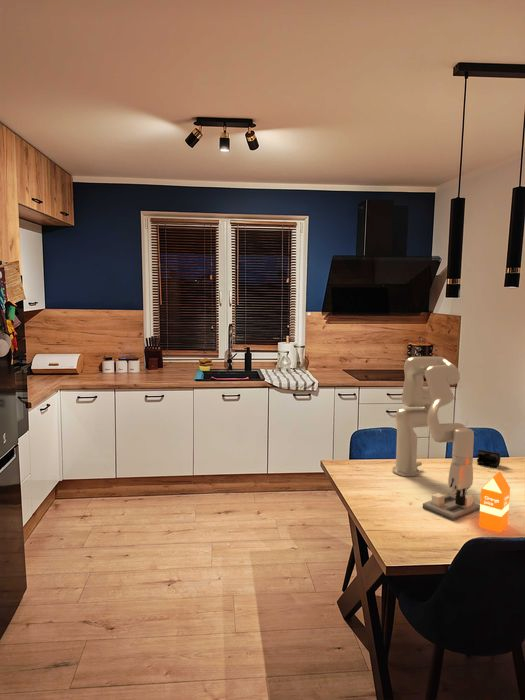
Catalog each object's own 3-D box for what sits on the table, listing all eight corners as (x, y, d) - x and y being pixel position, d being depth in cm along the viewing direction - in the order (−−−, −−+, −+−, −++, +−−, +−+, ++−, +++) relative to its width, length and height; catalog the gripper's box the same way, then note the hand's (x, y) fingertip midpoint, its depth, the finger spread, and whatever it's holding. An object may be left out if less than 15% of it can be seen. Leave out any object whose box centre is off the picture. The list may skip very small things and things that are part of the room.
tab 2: (465, 504, 206) (466, 493, 206) (472, 506, 204) (472, 496, 204) (459, 506, 204) (460, 496, 204) (466, 508, 202) (466, 498, 201)
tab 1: (437, 503, 207) (438, 492, 207) (444, 505, 205) (444, 495, 204) (431, 505, 205) (432, 495, 204) (437, 507, 202) (438, 497, 202)
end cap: (500, 465, 258) (501, 452, 258) (497, 468, 253) (497, 455, 252) (479, 461, 264) (480, 448, 263) (475, 464, 259) (476, 451, 258)
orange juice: (508, 524, 191) (511, 473, 189) (500, 532, 184) (504, 479, 182) (486, 518, 196) (489, 468, 194) (478, 526, 189) (481, 474, 187)
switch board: (449, 498, 215) (449, 493, 215) (480, 509, 204) (480, 504, 204) (422, 508, 205) (422, 503, 205) (453, 520, 194) (453, 515, 193)
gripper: (465, 453, 207) (463, 497, 209) (442, 460, 199) (440, 505, 200) (482, 458, 201) (479, 503, 203) (459, 465, 192) (456, 512, 194)
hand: (460, 504), depth 202 cm, fingers closed
